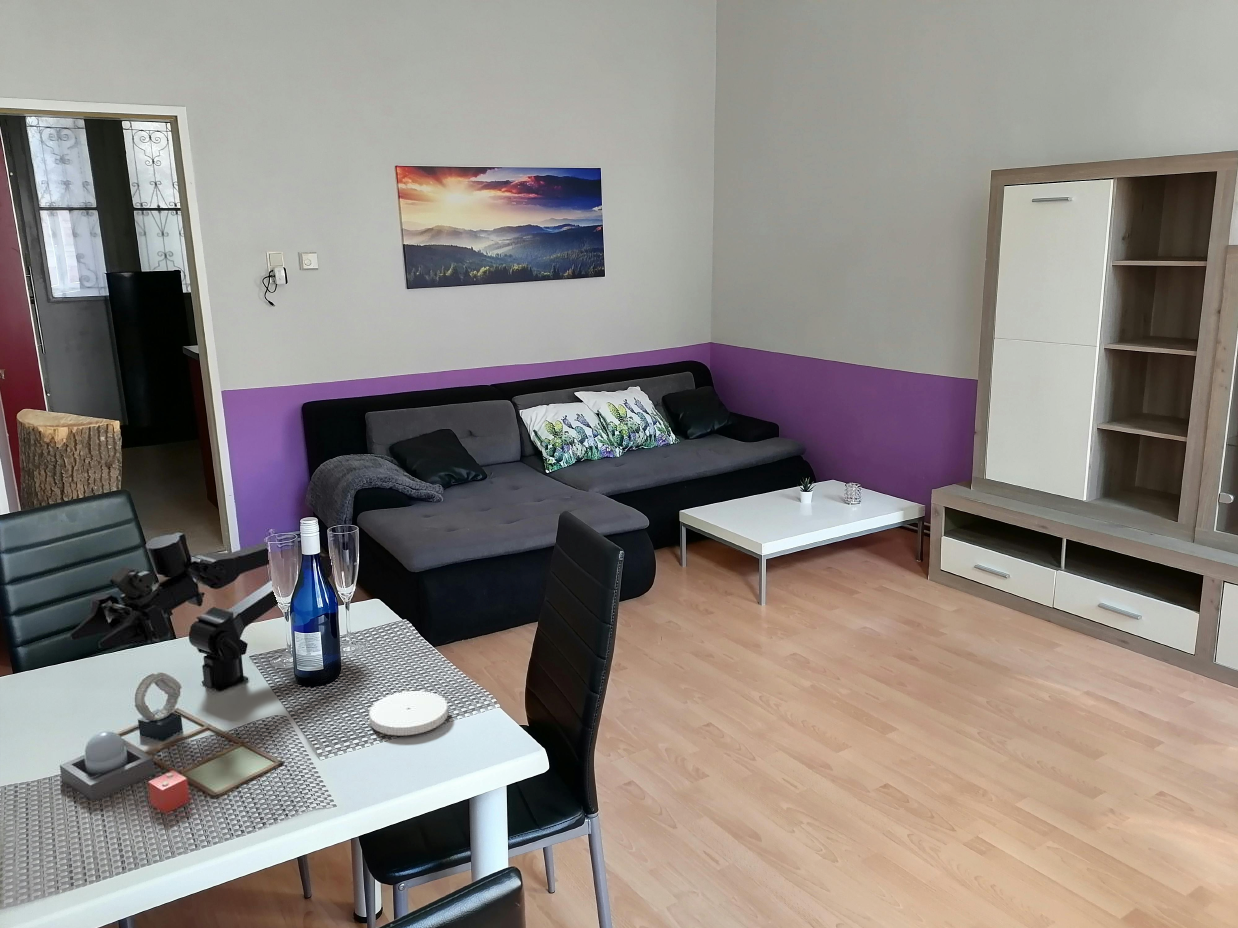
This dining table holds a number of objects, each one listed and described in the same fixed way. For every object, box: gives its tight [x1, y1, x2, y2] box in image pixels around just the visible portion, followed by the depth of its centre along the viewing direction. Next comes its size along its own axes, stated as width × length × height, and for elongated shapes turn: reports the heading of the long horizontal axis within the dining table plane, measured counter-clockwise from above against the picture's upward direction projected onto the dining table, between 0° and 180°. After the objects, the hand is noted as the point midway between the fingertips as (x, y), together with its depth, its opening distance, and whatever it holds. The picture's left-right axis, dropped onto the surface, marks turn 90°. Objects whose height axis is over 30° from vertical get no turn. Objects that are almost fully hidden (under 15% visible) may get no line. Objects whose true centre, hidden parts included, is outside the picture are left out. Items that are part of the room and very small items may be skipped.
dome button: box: [84, 730, 128, 774], centre depth 154 cm, size 6×6×6 cm
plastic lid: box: [368, 690, 449, 737], centre depth 174 cm, size 14×14×2 cm
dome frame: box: [59, 741, 156, 803], centre depth 155 cm, size 10×10×3 cm
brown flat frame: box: [116, 707, 284, 799], centre depth 164 cm, size 13×32×1 cm, turn 54°
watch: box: [134, 672, 184, 742], centre depth 169 cm, size 6×8×11 cm
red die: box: [147, 771, 191, 814], centre depth 148 cm, size 4×4×4 cm
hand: (85, 641), depth 164 cm, fingers open, 9 cm apart
